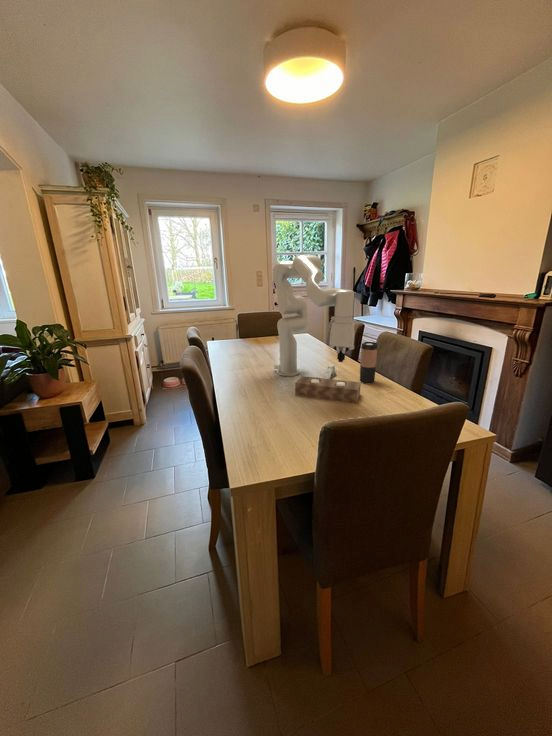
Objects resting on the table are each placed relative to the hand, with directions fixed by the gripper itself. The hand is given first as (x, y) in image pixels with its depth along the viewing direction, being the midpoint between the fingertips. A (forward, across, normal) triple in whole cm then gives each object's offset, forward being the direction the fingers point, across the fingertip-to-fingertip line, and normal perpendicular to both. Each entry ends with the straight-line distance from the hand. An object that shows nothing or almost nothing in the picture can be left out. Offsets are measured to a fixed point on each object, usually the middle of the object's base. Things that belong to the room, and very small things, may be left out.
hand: (340, 361), depth 135 cm
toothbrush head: (+18, -10, +18) cm, 27 cm away
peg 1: (+16, -11, -1) cm, 20 cm away
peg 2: (+16, +1, -1) cm, 16 cm away
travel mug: (+17, +10, +23) cm, 31 cm away
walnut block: (+17, -5, -1) cm, 18 cm away
